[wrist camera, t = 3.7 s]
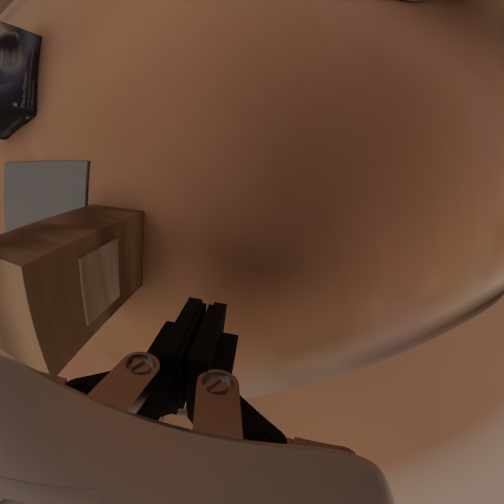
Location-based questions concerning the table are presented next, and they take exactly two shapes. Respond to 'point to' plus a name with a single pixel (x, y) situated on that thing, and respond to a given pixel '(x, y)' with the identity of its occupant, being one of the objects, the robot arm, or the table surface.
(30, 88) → the small box
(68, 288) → the walnut block
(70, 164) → the mat
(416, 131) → the table surface
